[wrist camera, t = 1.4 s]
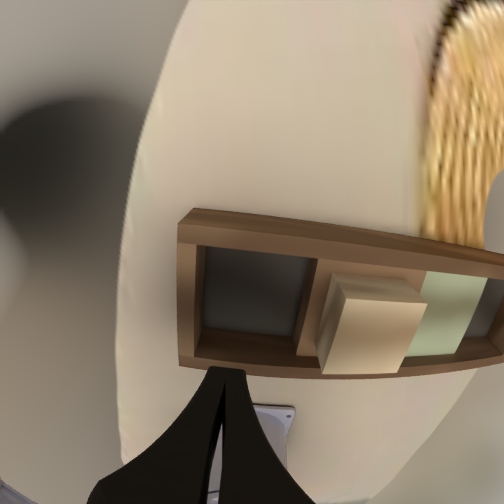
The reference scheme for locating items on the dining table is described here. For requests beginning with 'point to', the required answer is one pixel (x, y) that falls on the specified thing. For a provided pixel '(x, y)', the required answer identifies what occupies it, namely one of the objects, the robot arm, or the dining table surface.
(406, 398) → the dining table surface
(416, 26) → the dining table surface
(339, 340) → the maple block
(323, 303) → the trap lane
